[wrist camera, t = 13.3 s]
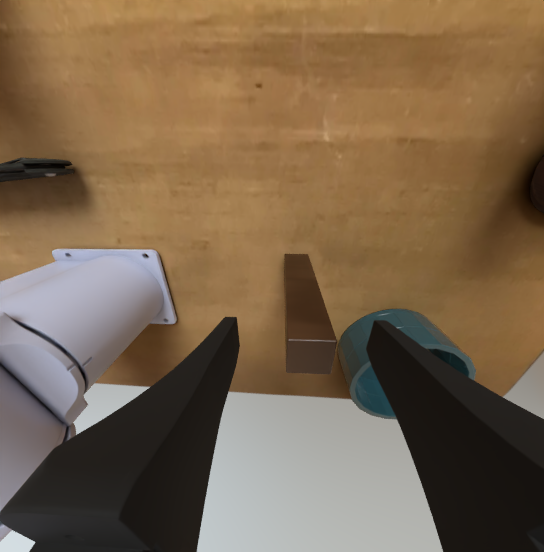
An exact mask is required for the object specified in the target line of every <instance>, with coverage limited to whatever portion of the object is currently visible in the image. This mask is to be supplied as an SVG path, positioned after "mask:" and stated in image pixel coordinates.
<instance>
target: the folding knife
mask: <svg viewBox="0 0 544 552" xmlns="http://www.w3.org/2000/svg"><path fill="white" fill-rule="evenodd" d="M18 161H20V162H18ZM15 162H16V163H15ZM69 165H72V163H71V162H70V161H66V160H56V159H37V158H18V159H15V160H12V161H9V162H5V163H1V164H0V182H5V181H14V180H23V179H32V178H40V177H49V176H58V175H66V174H72V173H74V170H73V169H65V166H69Z"/></svg>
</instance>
